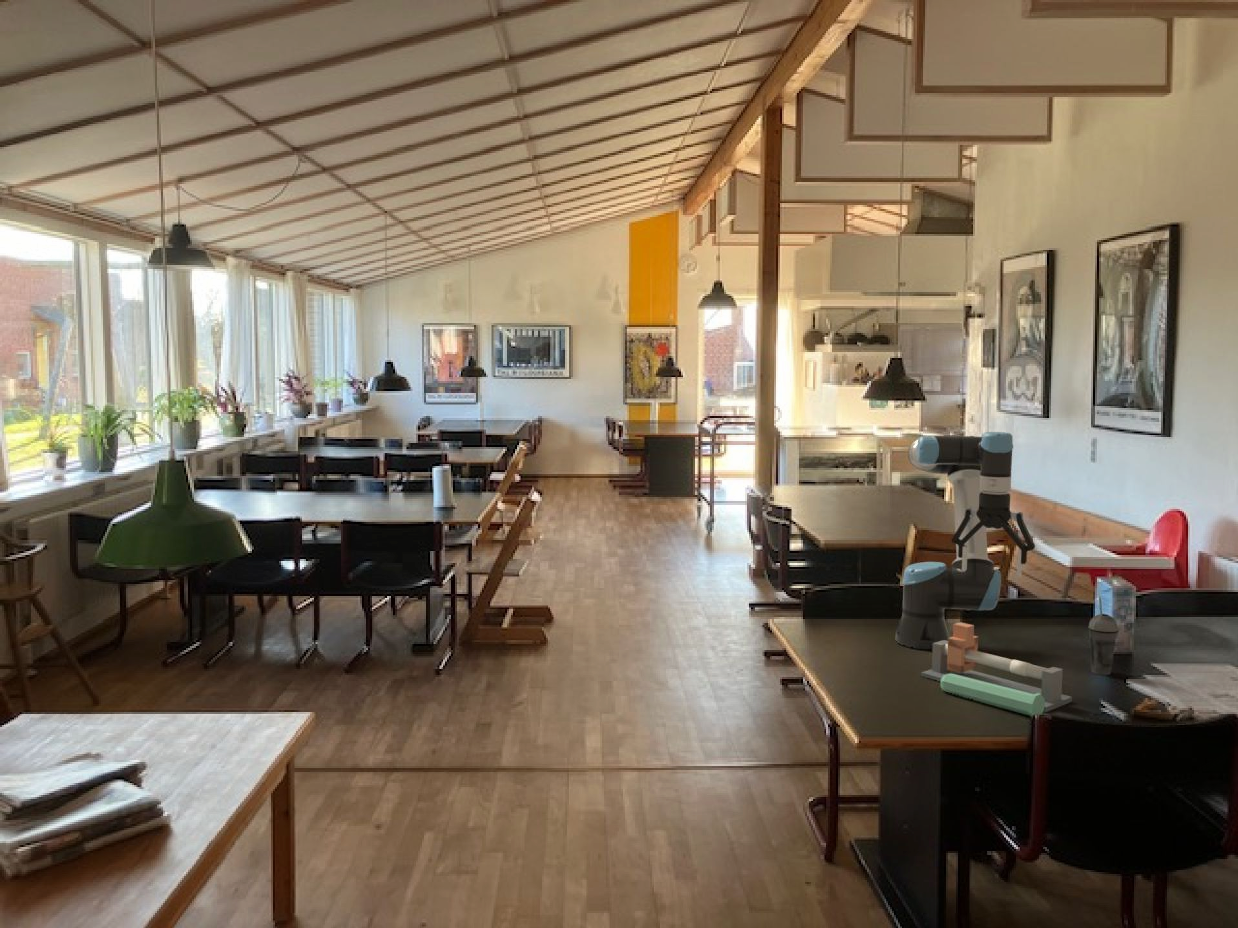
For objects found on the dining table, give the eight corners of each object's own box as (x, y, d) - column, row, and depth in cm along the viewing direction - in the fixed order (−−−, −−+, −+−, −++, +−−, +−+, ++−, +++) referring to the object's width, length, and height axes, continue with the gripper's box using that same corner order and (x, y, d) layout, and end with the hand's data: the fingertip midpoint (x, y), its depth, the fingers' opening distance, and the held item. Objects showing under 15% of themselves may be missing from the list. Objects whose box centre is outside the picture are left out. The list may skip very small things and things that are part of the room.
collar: (946, 669, 258) (948, 625, 257) (963, 664, 263) (964, 620, 262) (960, 673, 255) (962, 628, 254) (977, 667, 260) (978, 623, 259)
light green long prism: (939, 667, 250) (1035, 691, 231) (951, 672, 254) (1047, 696, 234) (933, 690, 249) (1029, 716, 230) (946, 695, 253) (1041, 721, 233)
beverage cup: (1119, 677, 262) (1123, 601, 260) (1089, 675, 264) (1093, 600, 262) (1112, 668, 269) (1115, 595, 267) (1082, 667, 271) (1086, 594, 269)
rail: (921, 676, 262) (922, 644, 261) (947, 668, 269) (948, 636, 268) (1046, 712, 235) (1047, 676, 235) (1071, 701, 243) (1073, 666, 242)
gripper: (941, 490, 263) (939, 570, 265) (1045, 497, 250) (1041, 581, 253) (948, 487, 269) (945, 565, 272) (1048, 493, 257) (1044, 575, 259)
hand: (991, 573), depth 262 cm, fingers open, 13 cm apart
